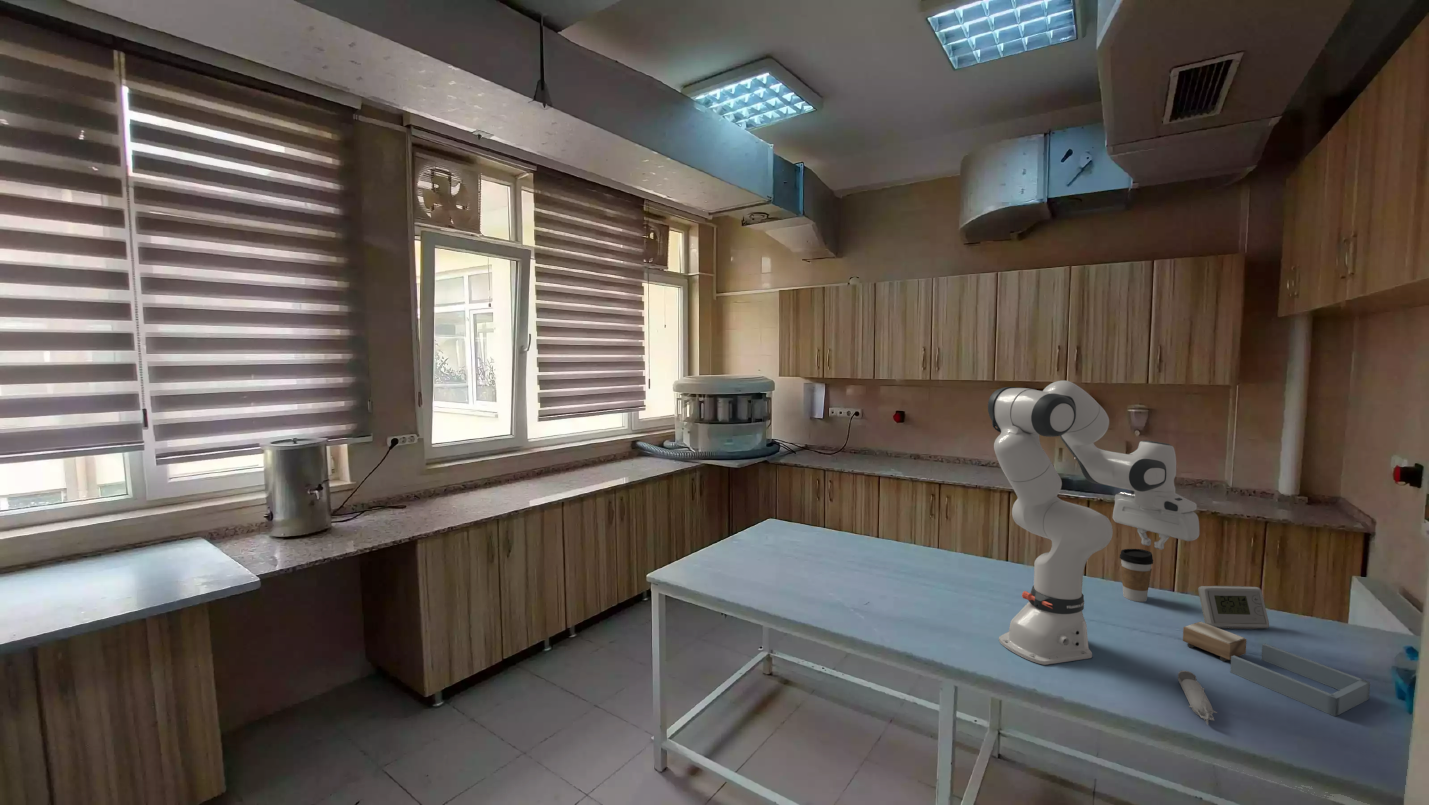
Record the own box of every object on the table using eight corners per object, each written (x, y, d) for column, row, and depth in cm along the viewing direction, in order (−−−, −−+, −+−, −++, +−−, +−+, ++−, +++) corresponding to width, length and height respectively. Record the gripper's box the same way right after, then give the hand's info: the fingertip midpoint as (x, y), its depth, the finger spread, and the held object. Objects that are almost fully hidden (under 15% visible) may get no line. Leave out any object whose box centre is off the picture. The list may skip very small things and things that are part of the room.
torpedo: (1171, 679, 132) (1172, 653, 131) (1197, 684, 129) (1198, 658, 129) (1193, 725, 116) (1194, 695, 115) (1222, 731, 114) (1224, 701, 113)
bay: (1335, 716, 117) (1336, 698, 116) (1230, 672, 134) (1231, 656, 133) (1369, 699, 122) (1370, 682, 122) (1264, 658, 139) (1264, 643, 138)
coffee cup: (1157, 604, 169) (1159, 557, 168) (1126, 602, 171) (1128, 555, 170) (1142, 592, 177) (1144, 547, 176) (1113, 591, 179) (1114, 546, 178)
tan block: (1229, 664, 137) (1230, 644, 136) (1182, 645, 146) (1183, 626, 146) (1245, 658, 139) (1246, 638, 139) (1198, 639, 149) (1199, 620, 148)
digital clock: (1205, 628, 154) (1206, 591, 153) (1188, 613, 163) (1190, 579, 162) (1278, 635, 149) (1280, 598, 148) (1257, 620, 158) (1259, 584, 157)
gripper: (1108, 491, 162) (1106, 537, 163) (1189, 508, 143) (1187, 560, 144) (1122, 489, 164) (1121, 534, 165) (1204, 505, 145) (1201, 556, 146)
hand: (1152, 546), depth 155 cm, fingers closed
